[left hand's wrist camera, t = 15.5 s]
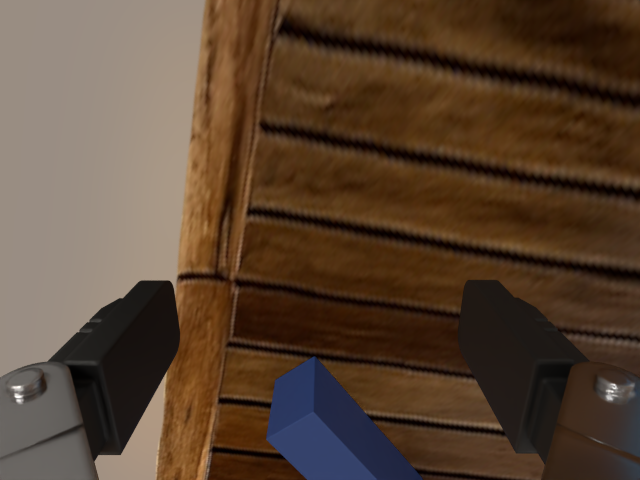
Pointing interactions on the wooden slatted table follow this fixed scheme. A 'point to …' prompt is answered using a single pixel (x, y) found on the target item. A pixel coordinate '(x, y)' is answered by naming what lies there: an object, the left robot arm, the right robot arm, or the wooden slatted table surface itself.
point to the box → (329, 430)
